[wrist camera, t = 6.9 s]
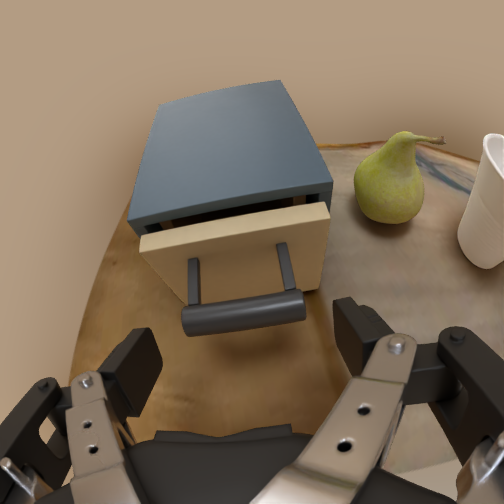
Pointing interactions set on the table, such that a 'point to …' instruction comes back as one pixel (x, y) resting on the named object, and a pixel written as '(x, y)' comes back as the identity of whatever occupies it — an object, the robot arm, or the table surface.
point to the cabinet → (226, 156)
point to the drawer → (242, 263)
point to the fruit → (392, 180)
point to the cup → (485, 208)
